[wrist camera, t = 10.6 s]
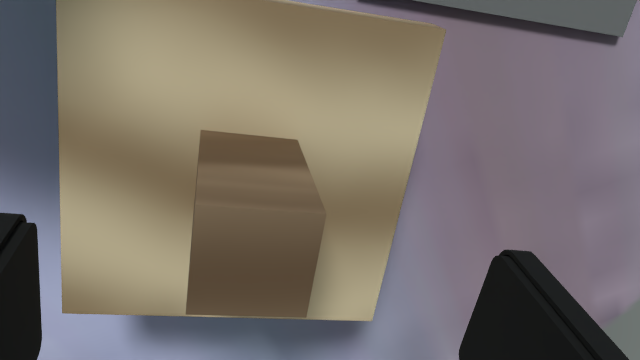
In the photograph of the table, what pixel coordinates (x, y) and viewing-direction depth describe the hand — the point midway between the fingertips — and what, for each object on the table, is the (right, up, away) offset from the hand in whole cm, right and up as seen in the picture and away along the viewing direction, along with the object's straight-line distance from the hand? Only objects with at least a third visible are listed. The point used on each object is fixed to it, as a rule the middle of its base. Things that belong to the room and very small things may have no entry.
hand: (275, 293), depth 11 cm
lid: (-2, +3, +7) cm, 8 cm away
